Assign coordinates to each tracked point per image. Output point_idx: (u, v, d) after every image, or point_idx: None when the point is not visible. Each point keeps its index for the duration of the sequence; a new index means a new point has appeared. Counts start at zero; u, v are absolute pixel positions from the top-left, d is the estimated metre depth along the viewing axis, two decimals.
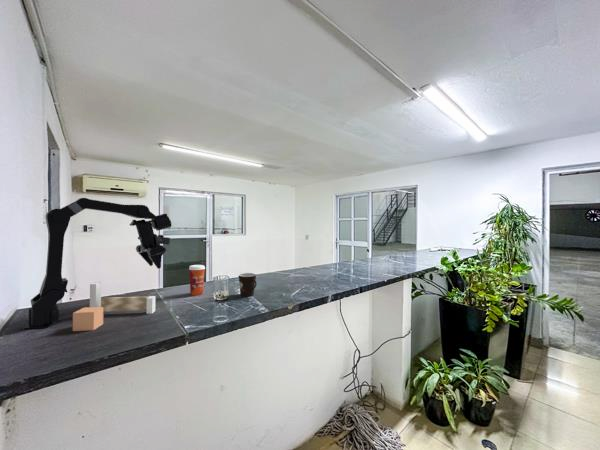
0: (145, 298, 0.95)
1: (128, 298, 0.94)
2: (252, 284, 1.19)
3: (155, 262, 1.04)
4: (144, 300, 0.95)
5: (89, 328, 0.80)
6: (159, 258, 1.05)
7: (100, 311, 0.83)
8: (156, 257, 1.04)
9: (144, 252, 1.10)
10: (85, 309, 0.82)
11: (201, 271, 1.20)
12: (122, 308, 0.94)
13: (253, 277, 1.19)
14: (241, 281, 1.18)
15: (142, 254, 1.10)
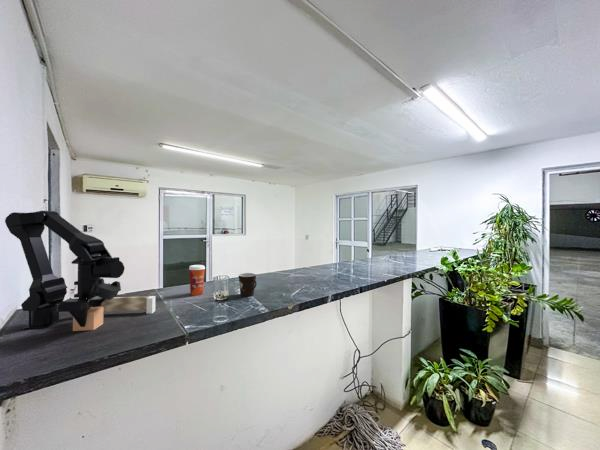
0: (145, 298, 0.95)
1: (128, 298, 0.94)
2: (252, 284, 1.19)
3: (76, 318, 0.78)
4: (144, 300, 0.95)
5: (90, 327, 0.80)
6: (82, 314, 0.78)
7: (100, 311, 0.83)
8: (79, 311, 0.78)
9: (91, 300, 0.85)
10: None
11: (201, 271, 1.20)
12: (122, 308, 0.94)
13: (253, 277, 1.19)
14: (241, 281, 1.18)
15: (87, 302, 0.84)
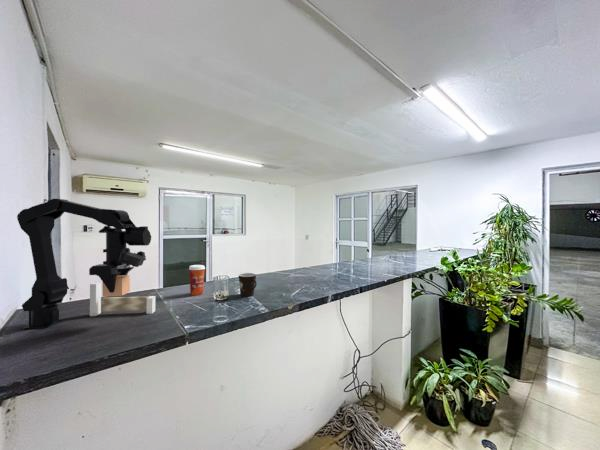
0: (145, 298, 0.95)
1: (128, 298, 0.94)
2: (252, 284, 1.19)
3: (105, 283, 0.81)
4: (144, 300, 0.95)
5: (118, 293, 0.83)
6: (111, 280, 0.81)
7: (127, 279, 0.87)
8: (108, 277, 0.81)
9: (118, 269, 0.88)
10: None
11: (201, 271, 1.20)
12: (122, 308, 0.94)
13: (253, 277, 1.19)
14: (241, 281, 1.18)
15: None
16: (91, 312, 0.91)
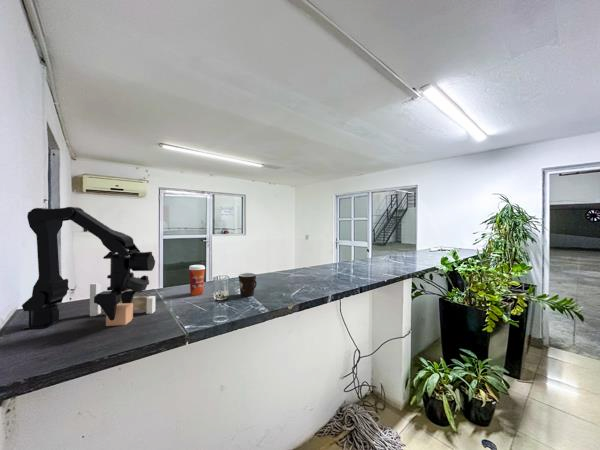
0: (145, 298, 0.95)
1: None
2: (252, 284, 1.19)
3: (106, 311, 0.80)
4: (144, 300, 0.95)
5: (122, 323, 0.84)
6: (112, 308, 0.80)
7: (130, 307, 0.87)
8: (109, 305, 0.80)
9: (124, 292, 0.91)
10: None
11: (201, 271, 1.20)
12: None
13: (253, 277, 1.19)
14: (241, 281, 1.18)
15: (121, 293, 0.91)
16: (91, 312, 0.91)
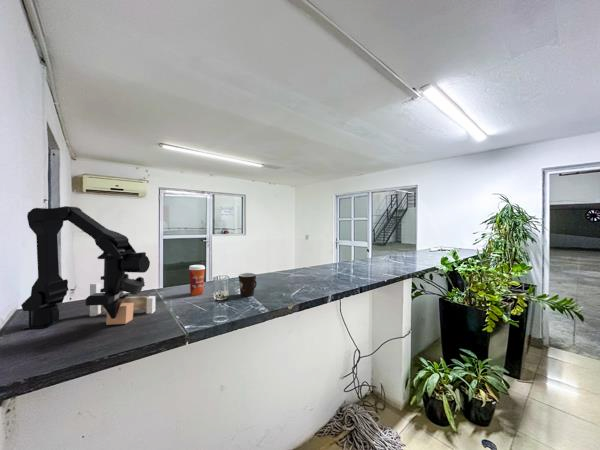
0: (145, 298, 0.95)
1: (128, 298, 0.94)
2: (252, 284, 1.19)
3: (107, 309, 0.81)
4: (144, 300, 0.95)
5: (122, 321, 0.84)
6: (113, 306, 0.81)
7: (131, 306, 0.88)
8: (110, 303, 0.81)
9: None
10: None
11: (201, 271, 1.20)
12: None
13: (253, 277, 1.19)
14: (241, 281, 1.18)
15: None
16: (91, 312, 0.91)
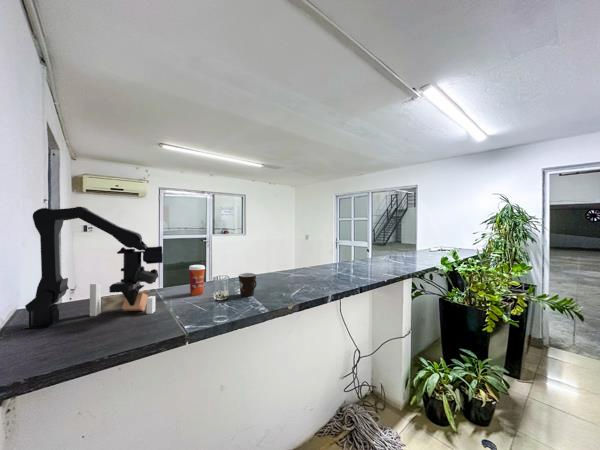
0: (148, 291, 1.04)
1: None
2: (252, 284, 1.19)
3: (127, 297, 0.92)
4: (147, 293, 1.04)
5: (136, 306, 0.94)
6: (132, 294, 0.92)
7: (145, 297, 0.99)
8: (129, 292, 0.92)
9: None
10: None
11: (201, 271, 1.20)
12: None
13: (253, 277, 1.19)
14: (241, 281, 1.18)
15: None
16: (91, 312, 0.91)
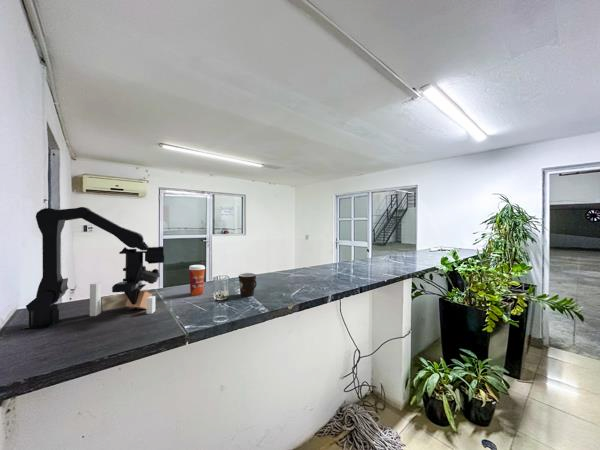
0: (147, 290, 1.05)
1: None
2: (252, 284, 1.19)
3: (129, 297, 0.94)
4: None
5: (137, 304, 0.96)
6: (133, 293, 0.94)
7: (149, 295, 1.01)
8: (131, 291, 0.94)
9: None
10: None
11: (201, 271, 1.20)
12: (124, 304, 0.99)
13: (253, 277, 1.19)
14: (241, 281, 1.18)
15: None
16: (91, 312, 0.91)
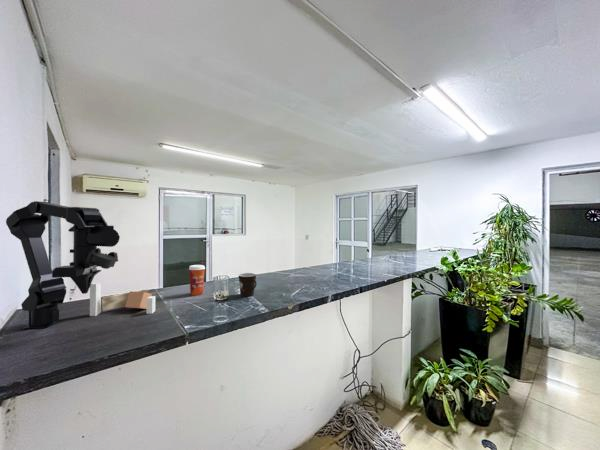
0: (147, 290, 1.05)
1: None
2: (252, 284, 1.19)
3: (77, 284, 0.78)
4: (146, 292, 1.05)
5: (137, 305, 0.96)
6: (83, 280, 0.78)
7: (148, 295, 1.00)
8: (80, 278, 0.78)
9: None
10: None
11: (201, 271, 1.20)
12: (125, 304, 0.99)
13: (253, 277, 1.19)
14: (241, 281, 1.18)
15: None
16: (91, 312, 0.91)
